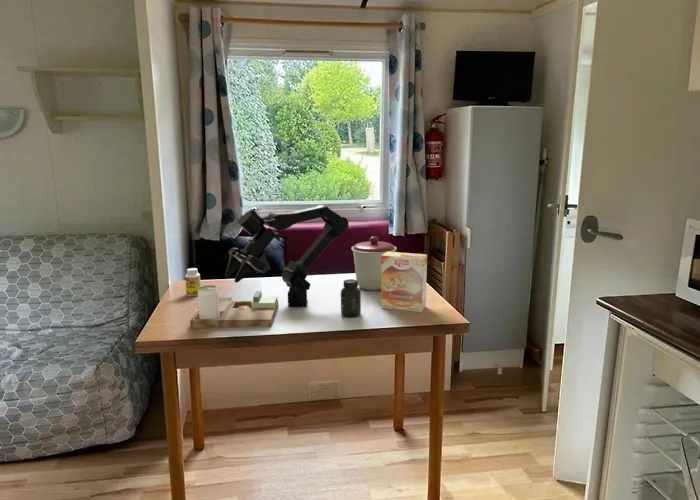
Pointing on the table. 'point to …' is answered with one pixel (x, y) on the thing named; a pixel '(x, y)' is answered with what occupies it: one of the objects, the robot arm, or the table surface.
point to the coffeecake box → (403, 281)
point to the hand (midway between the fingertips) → (230, 279)
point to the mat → (224, 299)
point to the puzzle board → (237, 316)
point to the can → (208, 302)
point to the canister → (370, 262)
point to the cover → (263, 301)
